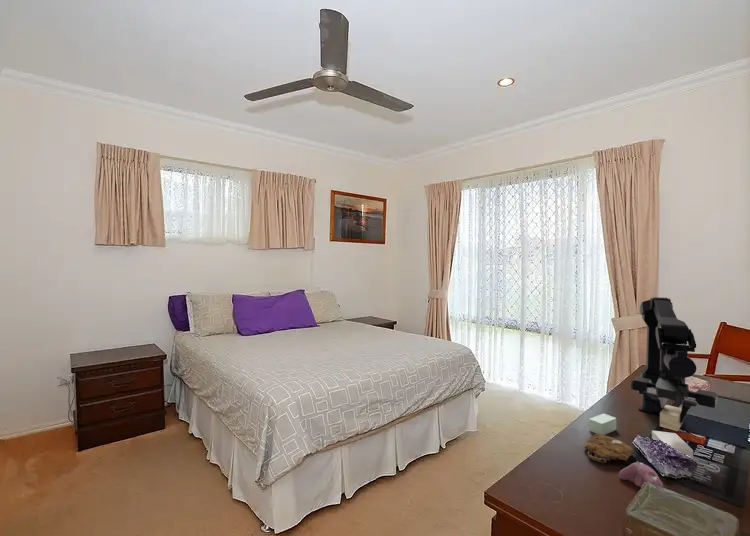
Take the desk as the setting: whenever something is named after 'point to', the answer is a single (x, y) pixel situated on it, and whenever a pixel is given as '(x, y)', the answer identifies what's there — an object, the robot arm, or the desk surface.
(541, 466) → the desk surface
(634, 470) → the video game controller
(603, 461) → the decorative rock
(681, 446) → the white brick
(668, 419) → the birch brick
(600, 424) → the sage brick
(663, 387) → the robot arm
